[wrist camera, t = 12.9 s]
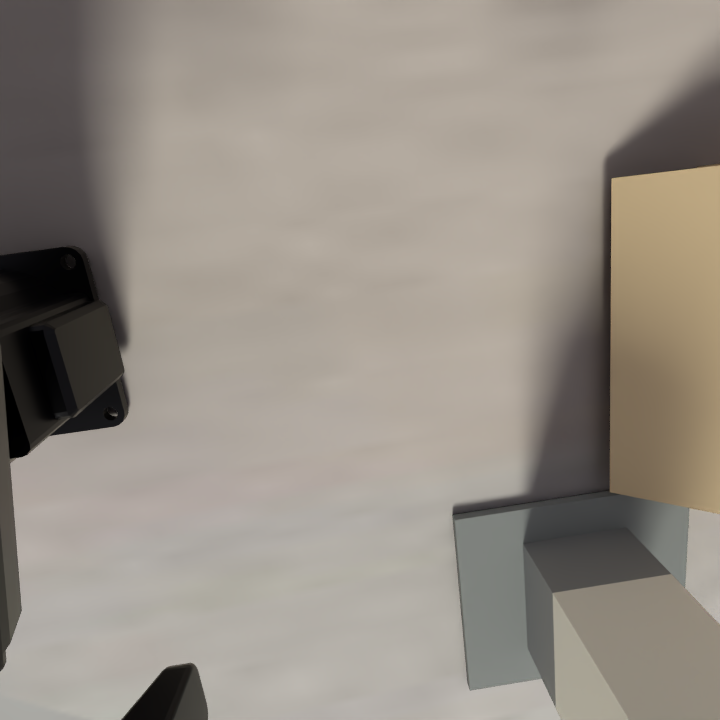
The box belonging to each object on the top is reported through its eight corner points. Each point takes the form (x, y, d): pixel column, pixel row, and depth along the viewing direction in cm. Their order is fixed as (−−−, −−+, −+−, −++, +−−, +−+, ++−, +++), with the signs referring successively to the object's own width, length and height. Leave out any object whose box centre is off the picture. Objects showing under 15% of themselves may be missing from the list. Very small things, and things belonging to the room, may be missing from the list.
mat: (467, 683, 25) (469, 690, 25) (452, 514, 22) (454, 520, 22) (675, 648, 25) (681, 655, 25) (684, 478, 23) (690, 483, 22)
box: (527, 648, 24) (716, 1049, 13) (522, 543, 23) (734, 893, 11) (624, 632, 24) (898, 1014, 13) (626, 527, 23) (940, 856, 11)
